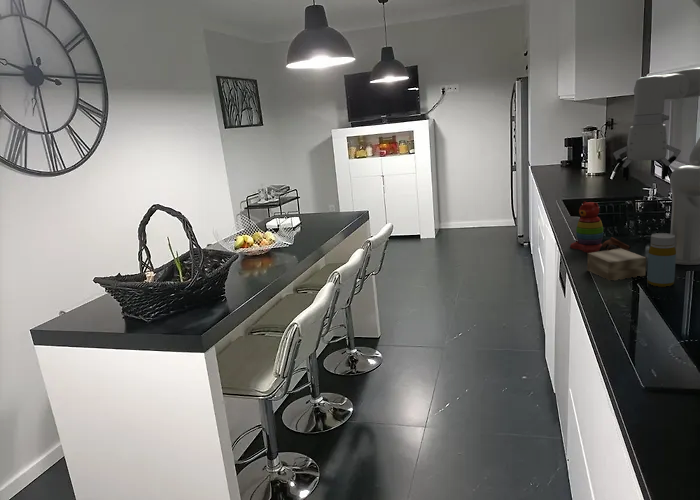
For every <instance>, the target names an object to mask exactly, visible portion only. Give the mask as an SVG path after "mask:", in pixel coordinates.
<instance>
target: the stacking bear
mask: <svg viewBox="0 0 700 500" xmlns="http://www.w3.org/2000/svg"><path fill="white" fill-rule="evenodd" d="M578 213H579V216H580V217H579V219H578V221H577V224H576V225H577V226H576V228H575V229H576V230H575V234H576V239H577V241H575V242H572V243H571V244H570V245H569V246H570V247H569V248H570V249H573V250H579V251H582V252H583V253H587V254H588V253H593V252H599V250H600V247H601V246H602V244H603V243H602V241H603V237H604V225H603V223H602V220H601V217H599V213H600V207H599V204H598V202H594V201H589V202H587V201H582V204H581V206H580V207H579V209H578Z"/></svg>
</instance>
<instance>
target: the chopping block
mask: <svg viewBox="0 0 700 500" xmlns="http://www.w3.org/2000/svg"><path fill="white" fill-rule="evenodd" d="M646 266H647V256H643V255H640V254H638V253H635V252H632V251H630V250H629V251H627V250H624V249H622V248H618V249H613V250H606V251H597V252H592V253H587V269H586V270H587V271H588V272H590V273H592V274H595V276H598V275H599V277H600V278H603V279H605V278H606V279H605V280H607V279H608V280H607V281H609V280H614V281H619V280H618V279H620V280H625V278H627V279H632V278H631V277H633V278H638V277H637V276H640V277H646V272H647V271H646V270H647V269H646V268H647V267H646Z"/></svg>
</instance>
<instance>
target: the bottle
mask: <svg viewBox="0 0 700 500" xmlns="http://www.w3.org/2000/svg"><path fill="white" fill-rule="evenodd" d="M649 246H650V247H649V249H648V257H647V258H648V259H647V260H648V261H647V277H646V278H647V279H646V281H647V283H648V284H649V285H650V284H651V285H650V286H652V285H653V286H652V287H656V286H658V287H657V288H667V287H666V286H669V287H671V286H673V285H674V284H675V275H676V264H675V262H676V250H675V247H674V246H675V235H673V234H671V233H669V232H668V233H667V232H665V233H664V232H658V233H656V232H655V233H652V234H651V235H650V245H649Z"/></svg>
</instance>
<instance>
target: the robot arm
mask: <svg viewBox="0 0 700 500" xmlns="http://www.w3.org/2000/svg"><path fill="white" fill-rule="evenodd" d="M633 95H634V106H633V124H632V126H630V127H629V129H628V130H629V131H628V134H627V142H626V144H627V145H626V146H624V147H622V148H619V149H618V150H616V151H614V152H613V153H612V154H613V156H614V158H615V160H616V162H617V163H618V164H620V166H621V167H622V178H623V179H624V181H625V182H626V181H629V171H630V168H629V164H631V163H632V161H635V162H637V161H638V162H639V161H659V160H660V161H661V162H662V163H663V164H662V165H661V177H660V178H661V180H663V181H665V180H666V177H669V169H670V165H672V164H673V162H675V161H676V160H677V158H678V156H679V155H680V154H681V153H682V152H681V151H682V150H681V149H679V148H677V147H675V146H672V145H669V144H668V139H667V137H668V136H667V126H666V124H664V122H666V121H670V115H666V114H665V111H664V110H665V102H674V101H678V100H681V99H689V98H696V97H700V67H695V68H688V69H684V70H683V69H681V70H678V71H672V72H669V73H663V74H662V73H661V74H657V75H656V74H655V75H649V76H644V77H643V76H642V77H639V78H638V79H637V80H635V84H634V86H633ZM667 151H670V152H672V155H671V156H670V157H669V158H668V159H667V158H666V157H667ZM623 153H626V159H625V160H623V159H622V158H621V155H622V154H623ZM688 159H689V163H690V165H689V164H687V165H682V166H678V167H677V168H675V169H674V170H673V171H672V172H671V174H670V177H669V179H670V180H669V185H670V191H671V202H672V203H671V207H672V208H671V220H670V221H671V222H670V234H673V235H675V246H674V247H675V250H676V262H675V265H685V266H696V265H697V266H698V265H700V137H698V140H697V142H696V143H695V144H694V147H693V148H692V150H691V152H690V155H689V158H688Z"/></svg>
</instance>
